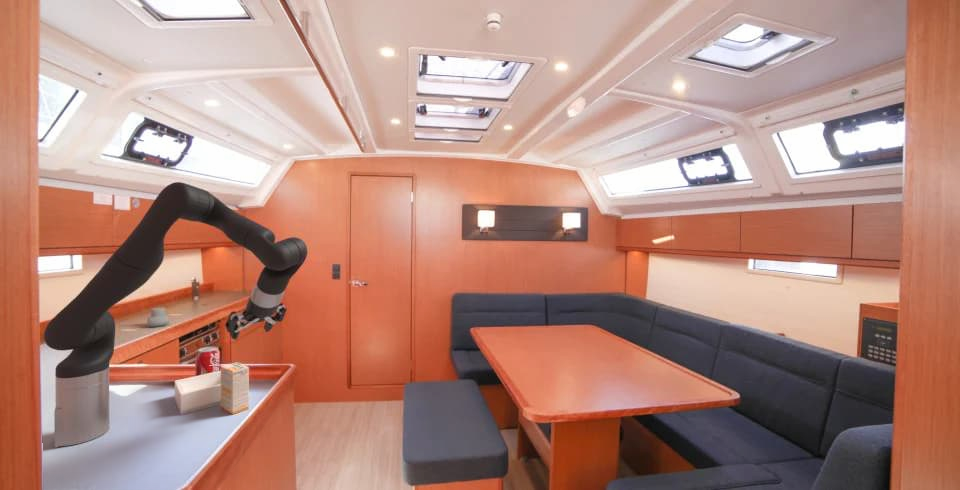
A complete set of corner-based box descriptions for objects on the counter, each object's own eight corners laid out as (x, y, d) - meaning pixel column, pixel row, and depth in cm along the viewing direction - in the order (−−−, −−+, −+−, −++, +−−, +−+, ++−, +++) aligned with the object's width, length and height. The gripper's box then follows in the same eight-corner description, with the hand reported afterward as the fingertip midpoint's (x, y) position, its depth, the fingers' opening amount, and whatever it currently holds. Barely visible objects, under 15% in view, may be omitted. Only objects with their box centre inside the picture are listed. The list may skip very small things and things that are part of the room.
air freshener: (169, 326, 193) (169, 308, 193) (149, 329, 187) (149, 311, 187) (166, 322, 200) (166, 305, 200) (147, 325, 194) (147, 307, 194)
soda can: (206, 386, 120) (206, 353, 120) (190, 384, 121) (190, 351, 121) (225, 378, 127) (225, 346, 126) (209, 376, 128) (209, 345, 128)
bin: (180, 415, 101) (181, 395, 101) (174, 399, 111) (174, 380, 110) (237, 399, 112) (237, 381, 111) (227, 385, 121) (227, 369, 121)
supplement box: (249, 408, 106) (250, 367, 106) (231, 415, 102) (232, 372, 101) (237, 401, 110) (237, 361, 110) (219, 407, 106) (220, 365, 106)
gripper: (287, 283, 101) (271, 318, 108) (232, 290, 89) (217, 329, 96) (298, 302, 98) (280, 337, 105) (242, 311, 87) (226, 350, 93)
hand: (250, 333), depth 100 cm, fingers open, 8 cm apart
